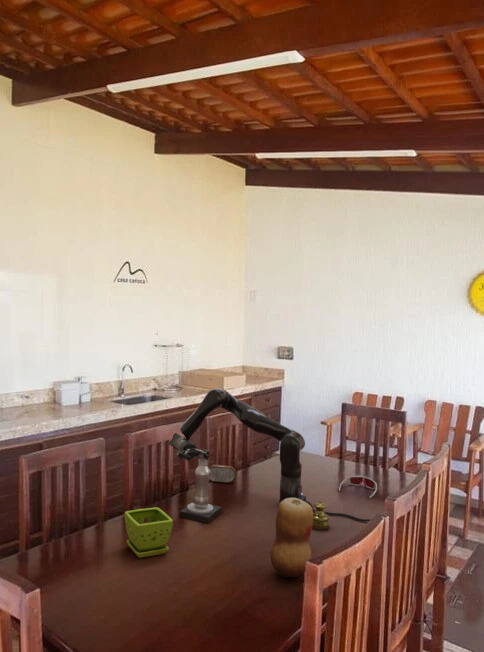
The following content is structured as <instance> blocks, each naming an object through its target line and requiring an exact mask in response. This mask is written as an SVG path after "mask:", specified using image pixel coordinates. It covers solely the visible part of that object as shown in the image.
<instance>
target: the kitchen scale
mask: <svg viewBox="0 0 484 652" xmlns="http://www.w3.org/2000/svg"><path fill="white" fill-rule="evenodd" d="M222 510H223V506H219V505H216V504H210V503H209V505H208V506H207V507H205V508H198V507H196V506H195V505H194V501H193V502H191V503H188V505H187V506H185V507H184V508H183V509H181V510H180V511H179V517H180V518H183V519H187V520H192V521H197V522H201V523H205V524H209V523H210V522H212V521H213V520H214V519H216V518H217V517H218V516H219V515H220V514H221V513H222Z"/></svg>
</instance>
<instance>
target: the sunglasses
mask: <svg viewBox="0 0 484 652" xmlns="http://www.w3.org/2000/svg"><path fill="white" fill-rule="evenodd" d="M344 483H347V484H349V485H350V486H351V485H352V486H356V487H360V486H361V485H362V483H363V484H364V486H366V488H367V489H369V490H370V489H371V490H374V491H373V493H372V494H370V496H369V499H371V498H373V496H375V494H376V493H377V491H378V484H377V482H376V481H375V480H374V479H373V478H370V477H368V476H364V475H351V476H347V477H345V479H343V480H342V481H341V482H340V484H339V488H338V490H339V491H338V492H341V488H342V485H343V484H344Z"/></svg>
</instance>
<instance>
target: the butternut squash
mask: <svg viewBox="0 0 484 652" xmlns="http://www.w3.org/2000/svg"><path fill="white" fill-rule="evenodd" d="M313 513H314V512H313V510H312V507H311V506H310V505H309V504H308V503H306V502H305V501H302V500H300V499H297V498H286V499H284V500H283V501H281V503H280V504H279V503H278V507H277V511H276V517H275V538H274V541H273V543H272V546H271V548H270V551H269V555H270V556H269V557H270V563H271V565H272V568H273V569H274V571H275V572H276V573H277V574H278V575H279V576H281V577H285V578H287V577H288V578H298V577H300V576H303V575H305V574H304V571H305V563H306V561H307V560H309V559H311V558H313V557H312V554H313V553H312V549H311V545H310V539H311V534H312V529H313V528H312V526H313Z"/></svg>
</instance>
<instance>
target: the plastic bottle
mask: <svg viewBox="0 0 484 652" xmlns="http://www.w3.org/2000/svg"><path fill="white" fill-rule="evenodd" d="M194 477H195V488H194V489H195V491H194V496H193V502H194V505H195V506H196V507H198V508H205V507H207V506H208V505H209V504H210V495H209V486H210V485H209V484H210V480H209V479H210V470H209V466H208V460H206V459H204V458H198V466H197V467H196V468H195V471H194Z"/></svg>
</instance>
